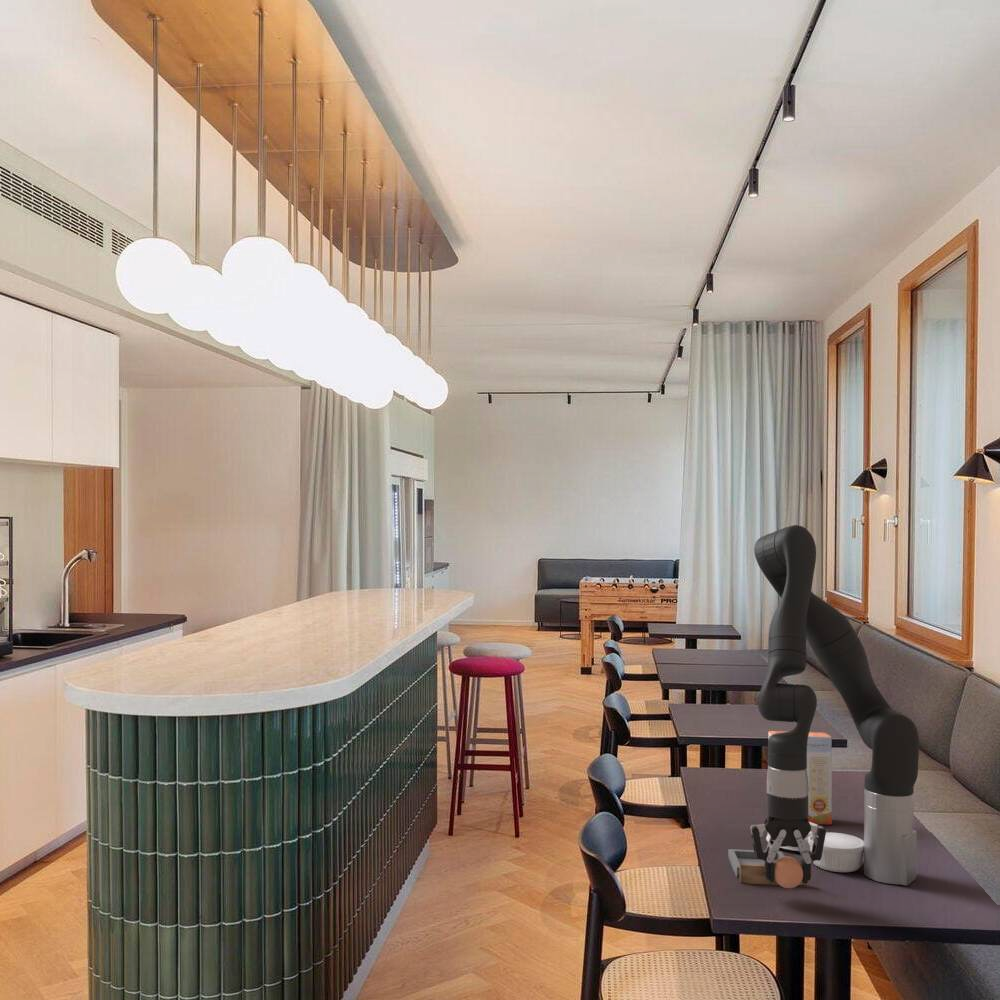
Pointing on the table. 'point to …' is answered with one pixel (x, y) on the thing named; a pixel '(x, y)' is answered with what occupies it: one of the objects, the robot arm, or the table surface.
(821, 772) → the cracker box
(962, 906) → the table surface
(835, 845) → the ramekin
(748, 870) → the wall
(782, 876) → the ball
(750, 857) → the tray
